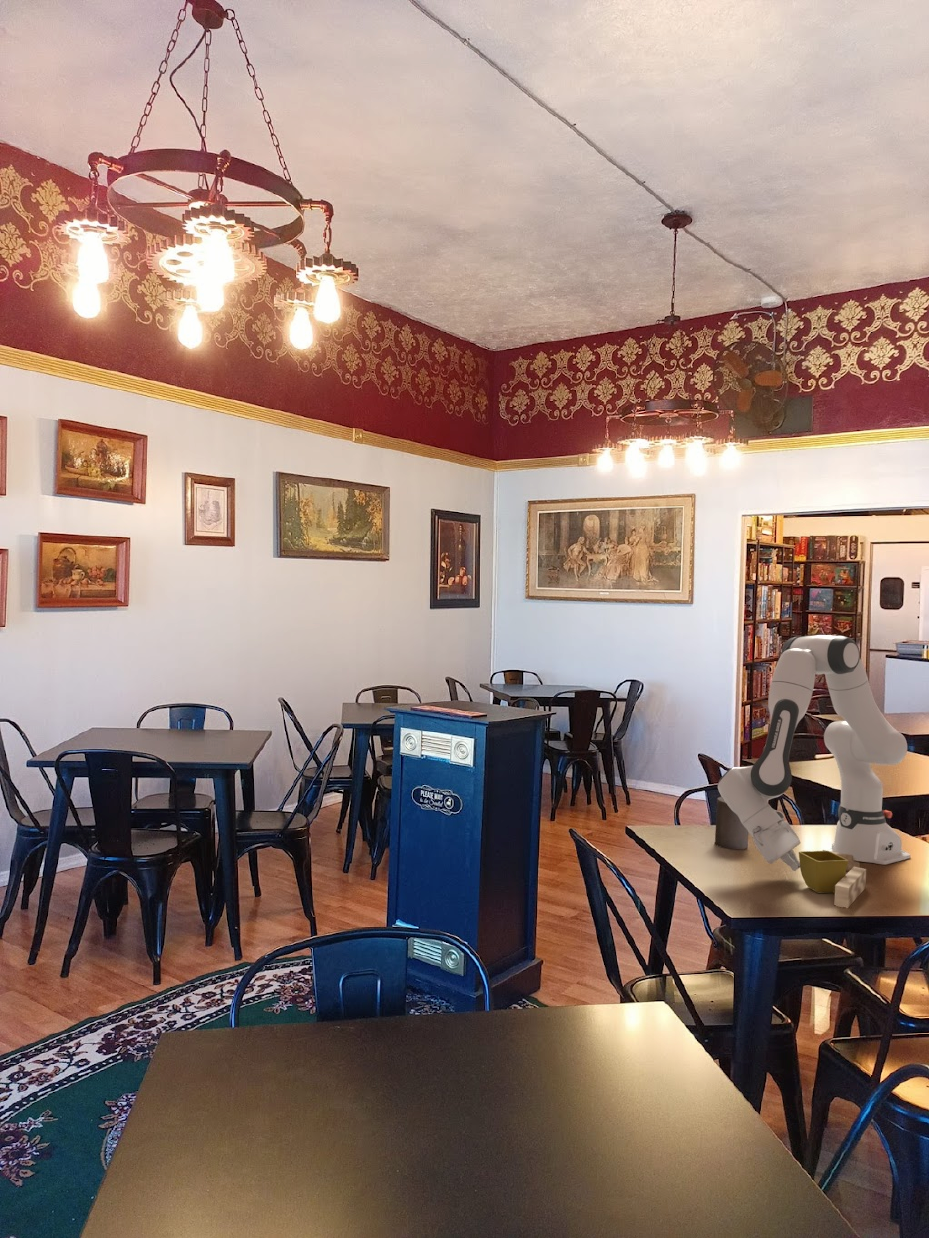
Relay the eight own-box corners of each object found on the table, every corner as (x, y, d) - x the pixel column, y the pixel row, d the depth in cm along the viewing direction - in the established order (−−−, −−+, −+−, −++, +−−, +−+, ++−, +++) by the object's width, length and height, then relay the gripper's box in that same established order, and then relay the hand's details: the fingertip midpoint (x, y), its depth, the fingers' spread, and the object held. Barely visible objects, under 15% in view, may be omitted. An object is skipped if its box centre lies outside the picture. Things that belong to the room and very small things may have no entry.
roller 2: (826, 858, 247) (829, 854, 249) (826, 868, 247) (829, 864, 250) (857, 864, 242) (859, 860, 244) (856, 874, 242) (859, 870, 245)
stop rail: (852, 885, 232) (853, 866, 231) (865, 888, 230) (866, 869, 230) (834, 905, 215) (835, 885, 215) (847, 908, 214) (848, 887, 213)
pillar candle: (709, 844, 266) (711, 795, 265) (722, 838, 273) (725, 790, 272) (740, 852, 259) (743, 801, 259) (753, 845, 267) (756, 796, 266)
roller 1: (822, 848, 254) (824, 851, 256) (820, 858, 253) (822, 861, 255) (852, 854, 249) (853, 856, 252) (850, 864, 248) (852, 867, 250)
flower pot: (815, 896, 222) (817, 860, 221) (796, 885, 230) (797, 850, 230) (847, 895, 223) (849, 860, 223) (826, 884, 232) (828, 850, 232)
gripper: (759, 824, 226) (795, 871, 220) (783, 810, 242) (818, 854, 237) (740, 837, 228) (776, 884, 223) (766, 823, 245) (799, 866, 239)
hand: (798, 868), depth 230 cm, fingers closed, pressing on flower pot
